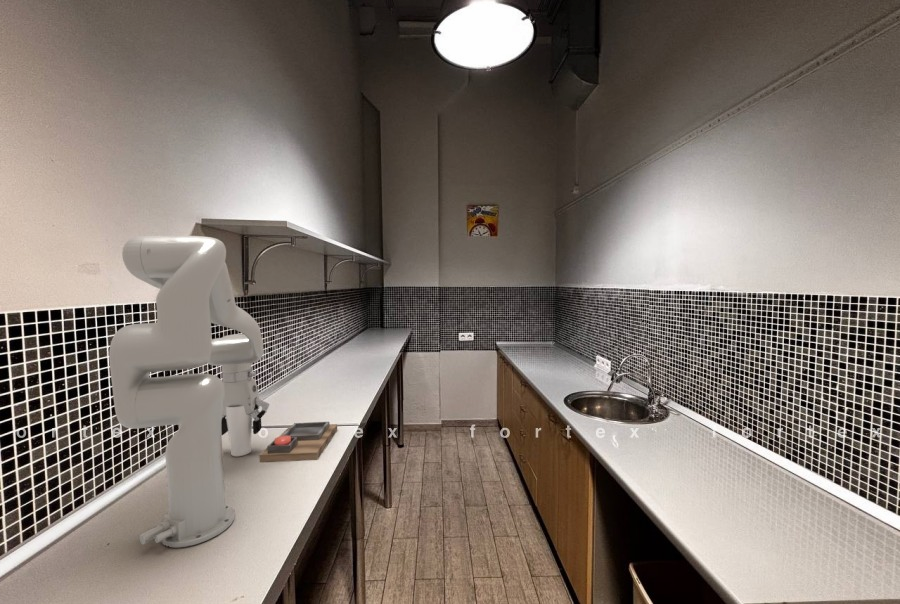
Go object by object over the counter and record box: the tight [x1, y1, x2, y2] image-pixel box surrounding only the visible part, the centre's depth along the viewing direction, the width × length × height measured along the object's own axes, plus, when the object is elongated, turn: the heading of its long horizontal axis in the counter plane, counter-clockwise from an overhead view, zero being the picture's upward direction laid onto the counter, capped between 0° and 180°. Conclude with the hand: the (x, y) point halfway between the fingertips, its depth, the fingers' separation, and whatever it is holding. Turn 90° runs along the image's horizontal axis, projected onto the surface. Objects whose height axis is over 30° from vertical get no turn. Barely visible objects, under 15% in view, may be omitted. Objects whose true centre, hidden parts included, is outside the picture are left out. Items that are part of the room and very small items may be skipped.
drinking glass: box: [225, 406, 253, 458], centre depth 112 cm, size 7×7×15 cm
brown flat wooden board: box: [258, 421, 338, 463], centre depth 117 cm, size 22×16×4 cm
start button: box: [273, 435, 291, 446], centre depth 110 cm, size 4×4×2 cm
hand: (240, 432), depth 112 cm, fingers open, 9 cm apart
